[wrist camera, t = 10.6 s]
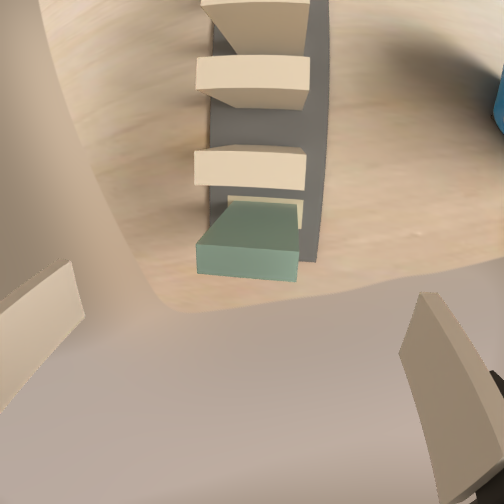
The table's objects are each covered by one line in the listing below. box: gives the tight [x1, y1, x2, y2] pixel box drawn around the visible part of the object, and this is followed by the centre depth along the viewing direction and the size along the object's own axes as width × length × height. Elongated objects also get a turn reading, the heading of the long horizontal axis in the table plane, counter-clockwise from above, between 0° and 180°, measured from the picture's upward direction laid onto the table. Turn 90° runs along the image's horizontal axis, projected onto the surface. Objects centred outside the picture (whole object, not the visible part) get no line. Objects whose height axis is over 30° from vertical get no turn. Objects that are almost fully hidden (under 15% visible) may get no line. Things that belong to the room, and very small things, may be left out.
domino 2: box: [195, 55, 310, 111], centre depth 16 cm, size 2×5×10 cm, turn 89°
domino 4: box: [196, 201, 299, 282], centre depth 19 cm, size 2×5×10 cm, turn 89°
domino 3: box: [194, 144, 307, 190], centre depth 17 cm, size 2×5×10 cm, turn 88°
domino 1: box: [201, 0, 310, 56], centre depth 14 cm, size 2×5×10 cm, turn 88°
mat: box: [210, 0, 329, 262], centre depth 21 cm, size 26×9×1 cm, turn 178°
